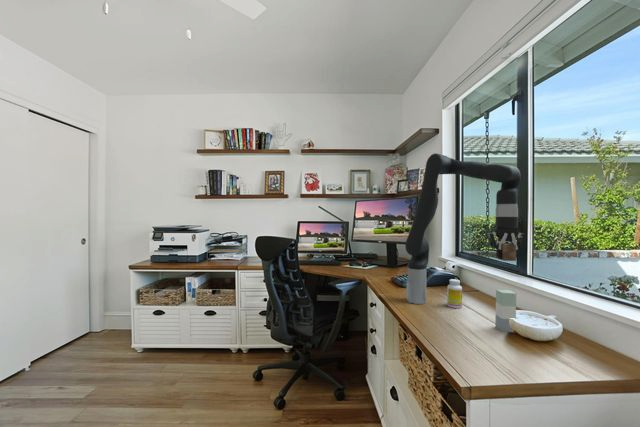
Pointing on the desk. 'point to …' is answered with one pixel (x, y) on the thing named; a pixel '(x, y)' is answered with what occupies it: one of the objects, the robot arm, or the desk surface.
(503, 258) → the walnut block
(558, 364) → the desk surface
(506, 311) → the tower mid
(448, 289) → the supplement bottle
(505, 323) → the tower base
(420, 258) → the robot arm
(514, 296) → the tower top
